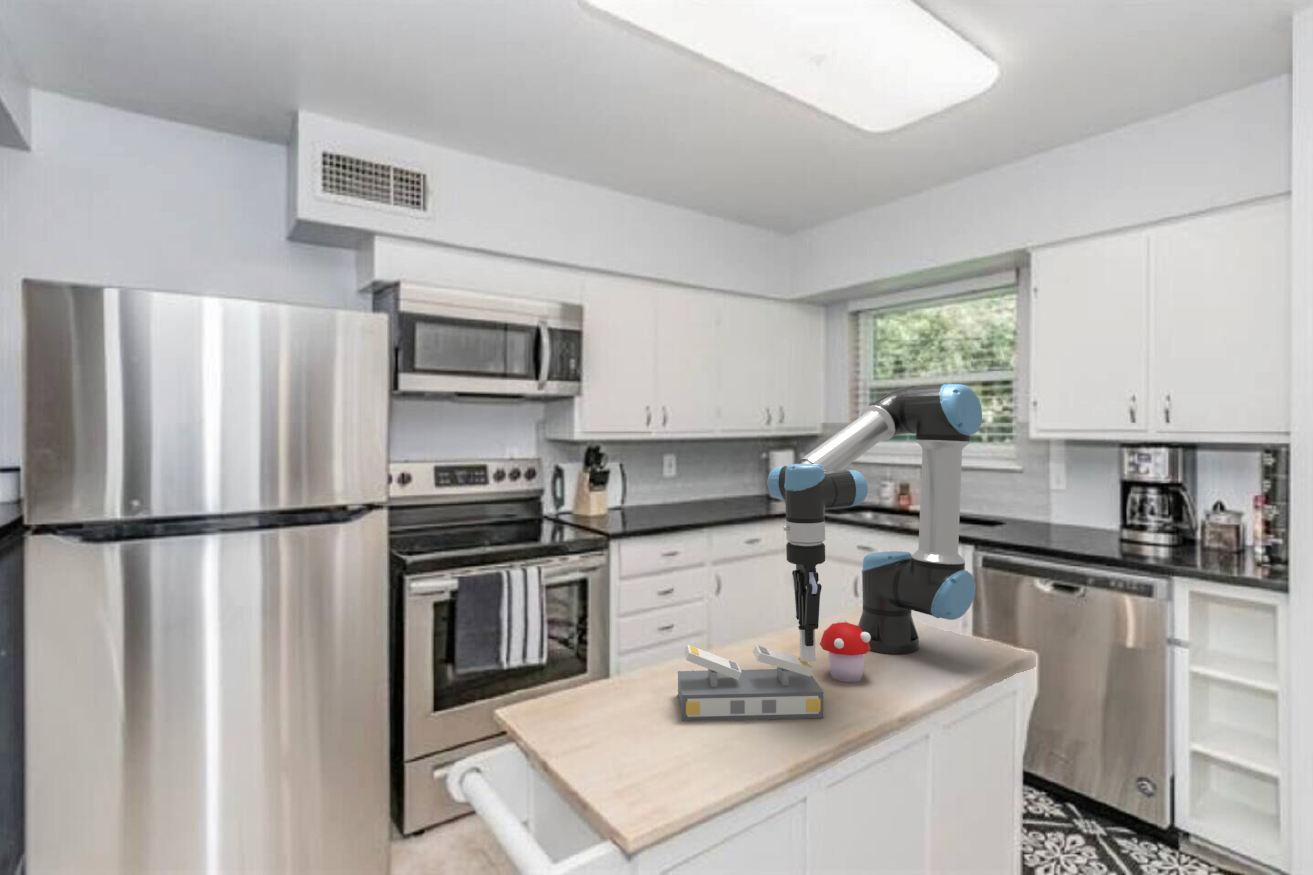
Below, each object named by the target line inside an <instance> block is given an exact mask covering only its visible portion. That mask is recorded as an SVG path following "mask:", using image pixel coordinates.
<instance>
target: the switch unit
mask: <svg viewBox="0 0 1313 875" xmlns="http://www.w3.org/2000/svg"><path fill="white" fill-rule="evenodd" d="M740 670H741V672H742V673H741V675H740V678H739V680H737V679H734V678H731V677H729V676H726V675H724V674H721V673H718V672H716V671H713V670H710V669H708V668H707V670H678V671H677V696H678V703H679V710H680V716H681V721H682V722H707V721H710V722H711V721H712V722H713V721H746V720H748V721H750V720H754V721H755V720H791V719H793V720H794V719H795V720H796V719H799V720H800V719H824V714H825V713H824V711H825V710H824V709H825V708H824V698H825V697H824V691H823V689H822V688H821V686H820V685H819V684H818V681H817V680H816V679H815V677H814V676H813V675H812V674H811V677H810V676H807V675H803V674H800V673H796V672H793V671H790V670H786V669H783V668H780V667H776V668H763V669H761V668H758V669H757V668H756V669H740Z"/></svg>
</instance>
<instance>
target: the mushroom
mask: <svg viewBox="0 0 1313 875" xmlns="http://www.w3.org/2000/svg"><path fill="white" fill-rule="evenodd" d="M870 639H871V636H870V634H869V633H868V632H863V631H862V630H861V629H860V628H859V626H858V624H857V625H856V624H853V623H850V622H848V621H847V620H846V619H844V618H840V619H838V620H837V622H836V623H835V622H834V623H831V624H830V626H828V627H827V628H826V629H824V631H823V633H822V637H821V640H820V642H819V646H820V647H821V649H822V650H823V651H826V652H829V653H828V657H827V659H828V666H829V671H830V676H831V678H833V679H834V680H836V681H839V682H845V683H854V682H855V683H857V682H859V681H861V680H862V679H863V674H864V668H865V663H866V661H865V656H864V655H866V654H867V653H868V652H869V651H871V648H870V644H869V641H870Z"/></svg>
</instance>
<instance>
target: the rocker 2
mask: <svg viewBox="0 0 1313 875" xmlns="http://www.w3.org/2000/svg"><path fill="white" fill-rule="evenodd" d="M752 653H753V655H754V657H755V659H756V660H757V662H758V663H759V662H760V663H763V664H766V665H770V666H772V667H776V668H777V667H780V668H783V669H786V670H790V671H793V672H796V673H800V674H803V675H807V676H810V677H811V675H812V674H813V670H814V668H813V667H812V665H811V664H810V663H809V662H810V661H805V662H802V661H801V659H800V657H798V656H794V655H791V654H787V653H785V652H781V651H777V650H775V649H771V648H767V647H764V646H760V645H759V644H758V645H756V644H755V645H754V648H753V651H752Z"/></svg>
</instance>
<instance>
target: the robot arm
mask: <svg viewBox="0 0 1313 875" xmlns="http://www.w3.org/2000/svg"><path fill="white" fill-rule="evenodd" d="M982 423H983V410H982V404H981V402H980V400H979V398H978V396H977V395H976V392H975V391H974V390H973V389H972V388H971V387H969V386H968V385H965V384H960V383H959V384H958V383H953V384H952V383H944V384H931V385H929V384H926V385H911V386H905V387H901V388H897V389H895V390H894V391H891V392H889V393H887V394H885V395H883V396H882V397H880V398H878V399H877V400H875V401H873V402H872V403H871V404H869V405H868V406H866V407H865V408H863V409H862V411H861V412H860V416H859V417H857V419H855V420H854V421H852V422H851V423H849V424H848V425H846V426H845V427H843V429H841V430H840V431H838V432H837V433H835V434H834V435H832V436H831V437H830V438H828V439H827V440H826V441H824V442H823V443H822V444H820V445H818V446H817V447H816V448H815V449H813V450H811V451H810V452H809V453H808V454H806V455H804V456H803V457H801V458H800V459H798V461H796V462H794V463H792V464H789V465H788V466H787V465H782V466H776V467H774V468H773V469H771V471H770V472H769V474H768V477H767V481H766V483H767V488H768V492H769V494H770V495H771V496H772V497H774V498H775V499H778V500H782V501H785V502H784V503H785V524H786V525H784V526H783V527H782V528H783V531H785V533H786V534H785V536H786V540H787V541H788V542H787V543H786V545H785V546H786V547H785V550H786V561H787V562H788V563H790V564H792V565H795V569H794V570H792V573H791V574H792V580H793V588H794V601H795V602H794V603H795V618H796V620H797V622H798V630H799V658H800V659H801V661H802V662H805V661H808V662H816V661H817V660H816V630H818V629H819V623H820V622H819V620H820V604H821V603H820V601H821V593H822V583H818V582H819V581H820V580H819V572H817V568H816V567H817V565H822V564H824V563H825V561H826V544H825V543H824V542H825V540H826V518H825V514H826V513H825V510H831V509H839V508H841V509H842V508H851V507H853V506H854V507H855V506H858V505H860V504H862V503H863V502H864V501H865V500H866V498H867V497H868V492H869V491H868V490H869V488H868V487H869V486H868V482H867V479H866V478H865V476H864V475H863V473H862V472H859V471H858V470H854V469H845V468H847V467H848V466H849V465H850V464H852V463H853V462H854V461H856V460H857V459H859V458H860V457H861V456H862V455H864V454H865V453H867V452H868V451H869V450H870V449H872V448H874V447H875V445H877V444H879V443H880V442H886V441H890V439H892V438H894V437H895V436H898V435H899V436H900V435H905V434H908V435H909V434H915V442H916V443H917V444H918V445H919V446H920V447H921V449H922V452H921V471H920V472H921V477H920V479H921V480H920V498H919V499H920V502H919V525H918V528H919V530H918V531H919V532H918V549H917V550H916V551H914V553H913V554H912V553H911V552H908V551H902V550H899V551H897V550H896V551H879V552H878V551H877V552H872V553H867V554H866V555H865V556H864V557H863V560H862V569H861V572H862V573H861V574H862V576H861V578H862V579H861V581H862V584H861V585H862V586H861V588H862V612H861V615H860V618H859V621H858V624H857V626H859V628H860V629H861V630H862V631H863V632H868V633H869V634H870V636H871V639H870V641H869V644H870V648H871V650H870V651H872V652H875V653H876V652H877V653H881V654H882V653H883V654H890V655H891V654H892V655H893V654H895V655H897V654H898V655H902V654H910V653H914V652H916V651H918V650H919V648H920V638H919V637H920V636H919V634H918V631H917V629H916V625H915V622H914V619H913V617H912V616H913V615H912V611H914V612H917V613H922V614H924V615H929V616H932V617H933V618H936V619H940V618H941V619H944V620H949V621H952V620H957V619H959V618H962V616H964V615H965V614H966V613H967V611H968V610H969V609H970V607H971V605H972V604H973V601H974V598H975V595H976V581H975V579H974V578H975V577H974V575H973V574H972V573H971V572H969V571H968V570H965V569H966V568H965V567H966V561H965V559H964V558H963V557H962V556H961V555H960V553H959V541H960V540H959V536H960V512H961V510H960V508H961V487H962V465H963V464H962V462H963V459H962V458H963V450H964V448H966V447H967V446H968V445H969V444H970V443H971V436H972V435H974V434H976V433H978V431H980V427H981V425H982Z"/></svg>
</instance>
